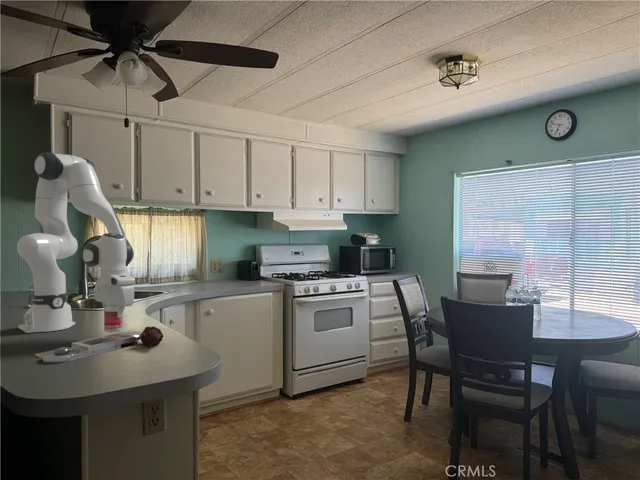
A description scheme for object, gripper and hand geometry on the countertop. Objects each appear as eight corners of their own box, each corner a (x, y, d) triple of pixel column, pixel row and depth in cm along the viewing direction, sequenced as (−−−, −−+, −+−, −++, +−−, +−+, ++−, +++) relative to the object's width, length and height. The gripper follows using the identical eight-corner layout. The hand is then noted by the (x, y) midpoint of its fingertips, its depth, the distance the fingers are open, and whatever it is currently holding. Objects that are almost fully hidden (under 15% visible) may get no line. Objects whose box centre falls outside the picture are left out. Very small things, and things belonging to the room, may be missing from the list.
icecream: (170, 329, 149) (158, 326, 161) (148, 326, 145) (137, 323, 157) (166, 350, 147) (154, 345, 160) (143, 348, 143) (132, 343, 156)
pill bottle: (123, 331, 163) (123, 301, 163) (105, 333, 160) (105, 302, 160) (121, 328, 169) (121, 298, 168) (103, 329, 165) (103, 299, 165)
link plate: (39, 359, 141) (39, 355, 141) (35, 357, 142) (35, 353, 142) (66, 353, 147) (66, 349, 147) (62, 351, 149) (61, 348, 149)
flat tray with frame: (52, 365, 132) (52, 355, 132) (36, 360, 138) (36, 350, 137) (148, 341, 158) (148, 333, 158) (132, 338, 164) (131, 330, 164)
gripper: (89, 276, 167) (89, 313, 168) (121, 281, 155) (120, 321, 156) (106, 275, 172) (106, 311, 173) (137, 279, 161) (137, 318, 161)
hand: (113, 315), depth 164 cm, fingers closed on pill bottle, 6 cm apart
